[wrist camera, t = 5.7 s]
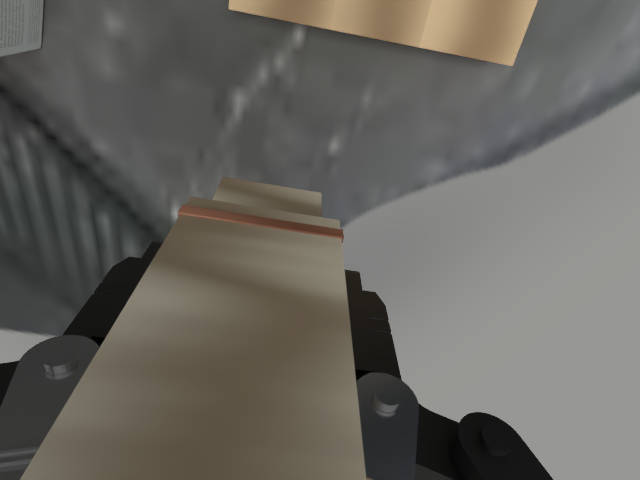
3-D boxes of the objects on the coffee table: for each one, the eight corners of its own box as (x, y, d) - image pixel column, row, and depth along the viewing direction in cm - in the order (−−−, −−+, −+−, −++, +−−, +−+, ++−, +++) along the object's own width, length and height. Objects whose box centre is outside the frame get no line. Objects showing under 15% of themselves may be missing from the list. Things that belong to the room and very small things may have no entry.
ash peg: (204, 267, 15) (60, 626, 7) (209, 161, 13) (9, 483, 5) (315, 282, 16) (315, 641, 7) (337, 182, 14) (375, 515, 5)
